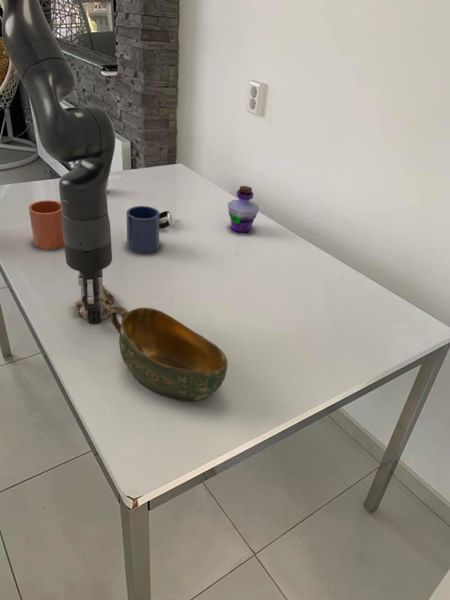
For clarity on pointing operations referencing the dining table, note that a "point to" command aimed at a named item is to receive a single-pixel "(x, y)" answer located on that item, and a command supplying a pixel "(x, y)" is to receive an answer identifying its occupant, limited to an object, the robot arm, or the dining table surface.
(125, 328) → the painted kuksa bowl
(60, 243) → the cup left
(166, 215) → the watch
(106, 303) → the mineral rock
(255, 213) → the potion bottle
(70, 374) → the dining table surface
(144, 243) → the cup right
